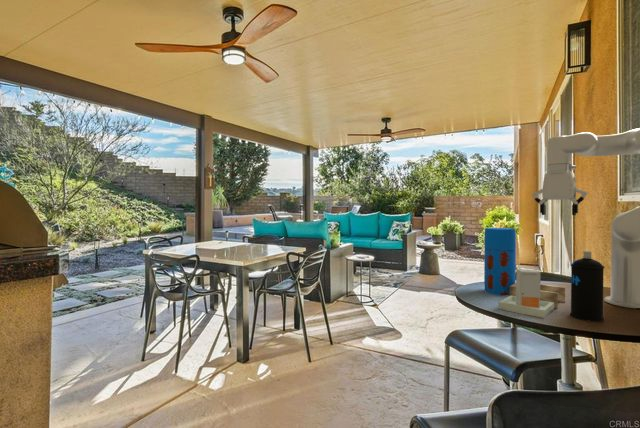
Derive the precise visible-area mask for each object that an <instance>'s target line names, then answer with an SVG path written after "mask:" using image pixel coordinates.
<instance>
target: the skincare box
mask: <svg viewBox="0 0 640 428" xmlns="http://www.w3.org/2000/svg"><path fill="white" fill-rule="evenodd" d="M541 274H542V273H541V271H539V270H536V269H516V271H515V283H516V305H522V306H527V307H533V308H538V309H540V284H541V277H542V275H541Z"/></svg>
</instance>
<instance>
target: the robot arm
mask: <svg viewBox="0 0 640 428" xmlns="http://www.w3.org/2000/svg"><path fill="white" fill-rule="evenodd" d="M546 146H547V147H546V150H547V151H546V173H545V174H544V178H543V182H542V188H541V189H539V190H537V191H535V192H533V193H532V194H531V195H532V197H533V199H534V201H535V202H537V204H539V213H540V214H541V216H546V214H547V213H546V212H547V210H546V209H547V208H546V207H547V205H546V203H547V202H548V201H550V200H551V201H554V200H555V201H556V200H557V201H559V200H560V201H561V200H562V201H563V200H564V201H565V200H570V201H571V203H572V205H571V216H576V215H577V214H578V213H579V205H580V204H581V202H583V201H584V200H585V199H586V197H587V195H588V194H589V193H588V191H585V190H582V189H579V188H578V187H577V185H576V177H575V173H574V172H572V171H574V170H576V169H577V165H572V154H576V155H578V156H581V157H603V156H605V157H606V156H620V155H621V156H623V155H624V156H627V155H628V156H629V155H630V156H631V155H640V127H639V128H634V129H631V130H628V131H625V132H621V133H615V134H610V135H609V134H608V135H607V134H606V135H596V134H594V133H592V132H588V131H586V132H585V131H584V132H579V133H575V134H571V135H559V136H551V137H550V138H549V139H548V140H547V144H546ZM577 193H578V194H580V197H579V198H577V199H576V197H577ZM541 194H542V196H541V197H542V198H539V196H538V195H541ZM610 224H611V225H610V234H611V235H610V239H611V240H610V241H611V243H610V244H611V245H610V254H611V255H610V295H609V296H605V297H604V301H605V302H606V303H608V304H609V305H613V306H618V307H623V308H630V309H636V308H640V205H639V206H637V207H635V208H633V209H630V210H628V211H625V212H621V213H618V214H617V215H616V216H614V218H613V219H612V221H611V223H610Z"/></svg>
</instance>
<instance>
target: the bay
mask: <svg viewBox="0 0 640 428" xmlns="http://www.w3.org/2000/svg"><path fill="white" fill-rule="evenodd" d="M510 295H511V296H516V282H515V284H513V285H511V286H509V296H510ZM509 296H508V297H509ZM540 300H541V301H548V302H554V309H559V302H562V303H565V302H566V287H565V286H559V285H558V286H557V285H550V284H549V285H548V284H544V283H543V284H542V283H540Z"/></svg>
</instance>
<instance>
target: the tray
mask: <svg viewBox="0 0 640 428" xmlns="http://www.w3.org/2000/svg"><path fill="white" fill-rule="evenodd" d="M498 310H502V311H507V312H512V313H518V314H522V315H528V316H533V317H538V318H543V319H546V318H547V317H548V316H549V315H550V314H552V312H553V311H554V310H555V308H554V302H548V301H541V300H540V309H538V308H533V307H527V306H522V305H516V296H511V295H510V296H506V297H505V298H504V299H502V300H500V301H498Z"/></svg>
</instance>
